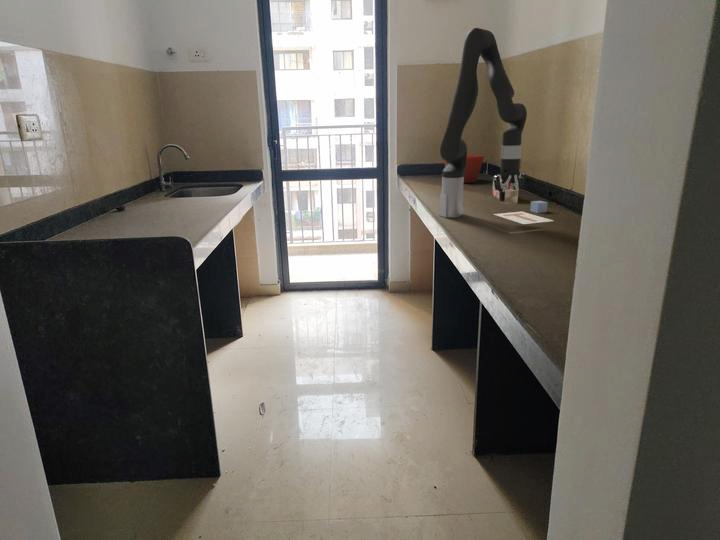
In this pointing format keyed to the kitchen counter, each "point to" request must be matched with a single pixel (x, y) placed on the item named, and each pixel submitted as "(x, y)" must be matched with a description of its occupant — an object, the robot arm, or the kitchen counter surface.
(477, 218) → the kitchen counter surface
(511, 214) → the letter mat
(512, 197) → the beech block
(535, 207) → the blue-grey cube
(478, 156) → the plant pot
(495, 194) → the stack of blocks
